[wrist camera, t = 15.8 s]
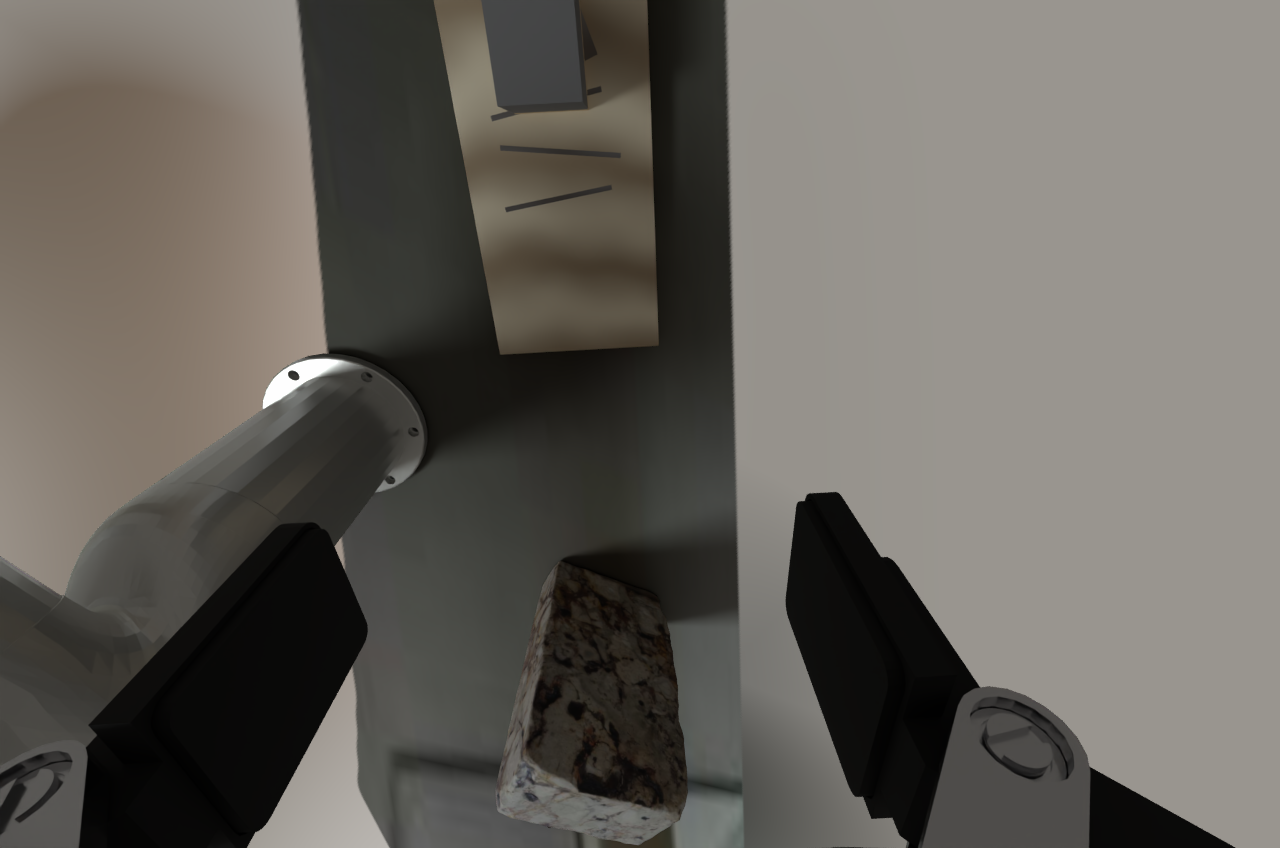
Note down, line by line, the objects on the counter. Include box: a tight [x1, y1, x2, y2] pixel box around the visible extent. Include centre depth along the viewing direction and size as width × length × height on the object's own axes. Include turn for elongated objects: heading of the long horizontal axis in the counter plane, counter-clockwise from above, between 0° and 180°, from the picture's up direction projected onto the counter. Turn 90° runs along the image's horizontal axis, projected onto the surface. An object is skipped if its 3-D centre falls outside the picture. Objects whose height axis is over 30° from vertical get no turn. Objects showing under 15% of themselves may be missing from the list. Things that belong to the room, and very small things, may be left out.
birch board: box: [434, 0, 659, 355], centre depth 33 cm, size 24×12×2 cm, turn 3°
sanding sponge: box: [481, 0, 589, 114], centre depth 27 cm, size 8×4×5 cm, turn 3°
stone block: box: [496, 561, 688, 845], centre depth 43 cm, size 13×7×20 cm, turn 66°
